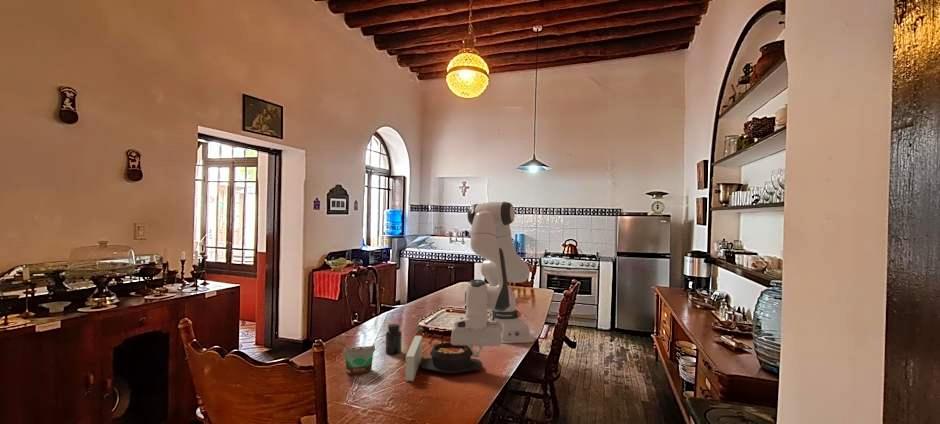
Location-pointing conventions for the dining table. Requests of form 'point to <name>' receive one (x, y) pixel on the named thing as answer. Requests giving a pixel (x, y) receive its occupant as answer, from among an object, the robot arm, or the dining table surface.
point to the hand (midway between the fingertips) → (475, 356)
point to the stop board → (413, 358)
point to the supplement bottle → (393, 340)
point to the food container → (359, 360)
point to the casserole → (451, 359)
